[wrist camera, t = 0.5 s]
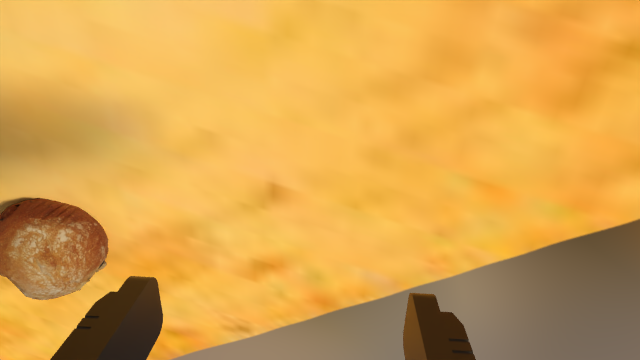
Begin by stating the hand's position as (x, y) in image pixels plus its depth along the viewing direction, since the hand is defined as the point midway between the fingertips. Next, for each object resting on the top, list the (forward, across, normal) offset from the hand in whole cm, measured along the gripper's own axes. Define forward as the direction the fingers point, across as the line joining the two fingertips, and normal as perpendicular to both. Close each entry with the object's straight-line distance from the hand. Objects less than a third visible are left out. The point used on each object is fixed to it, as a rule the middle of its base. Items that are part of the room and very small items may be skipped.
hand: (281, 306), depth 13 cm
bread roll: (+24, +25, +14) cm, 38 cm away
